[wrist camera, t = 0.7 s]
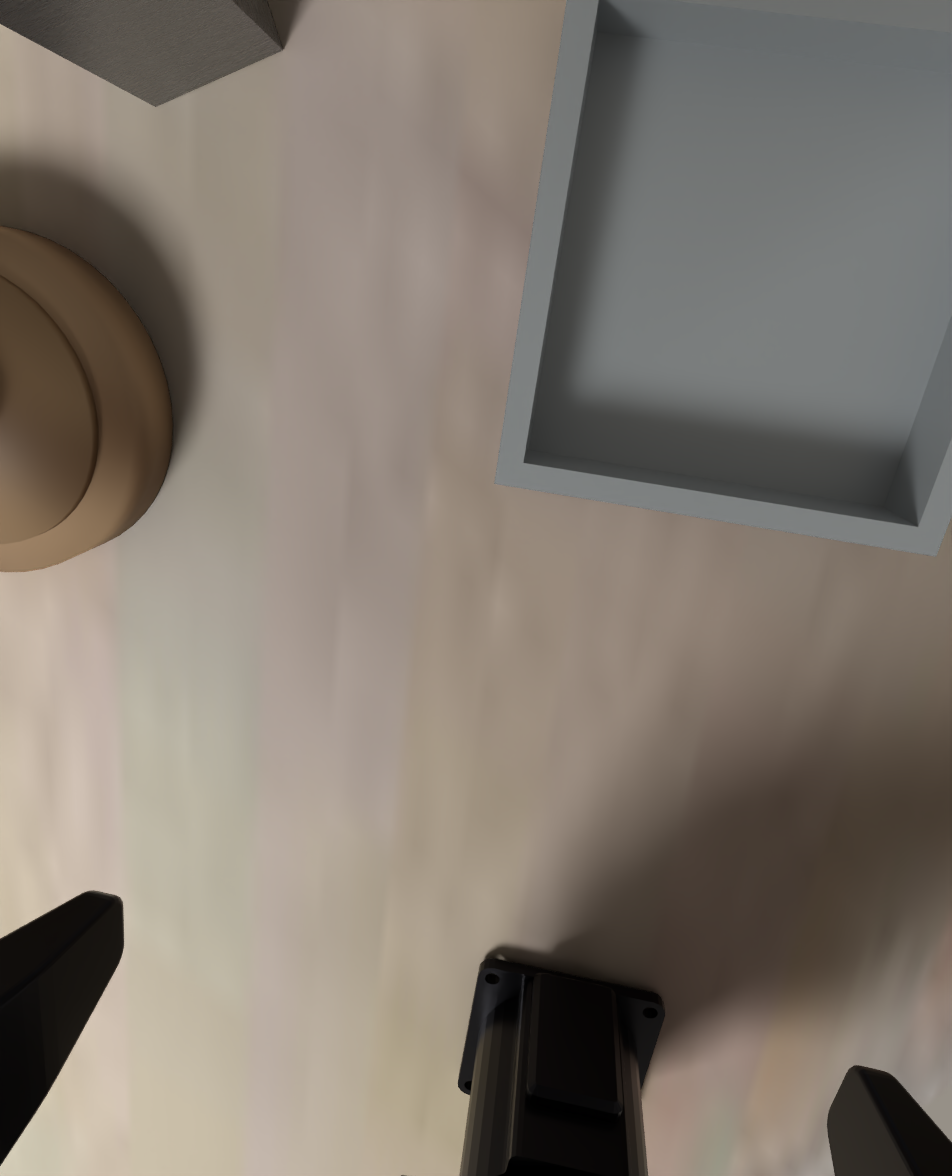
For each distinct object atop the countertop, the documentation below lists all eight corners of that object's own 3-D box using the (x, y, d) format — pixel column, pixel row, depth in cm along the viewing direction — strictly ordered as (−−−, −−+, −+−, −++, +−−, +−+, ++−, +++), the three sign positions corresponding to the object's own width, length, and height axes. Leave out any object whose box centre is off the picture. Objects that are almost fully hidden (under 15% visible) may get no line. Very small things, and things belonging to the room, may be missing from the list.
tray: (889, 528, 18) (935, 556, 16) (503, 465, 19) (494, 483, 17) (1057, 62, 15) (1147, 12, 13) (573, 6, 16) (574, -51, 13)
